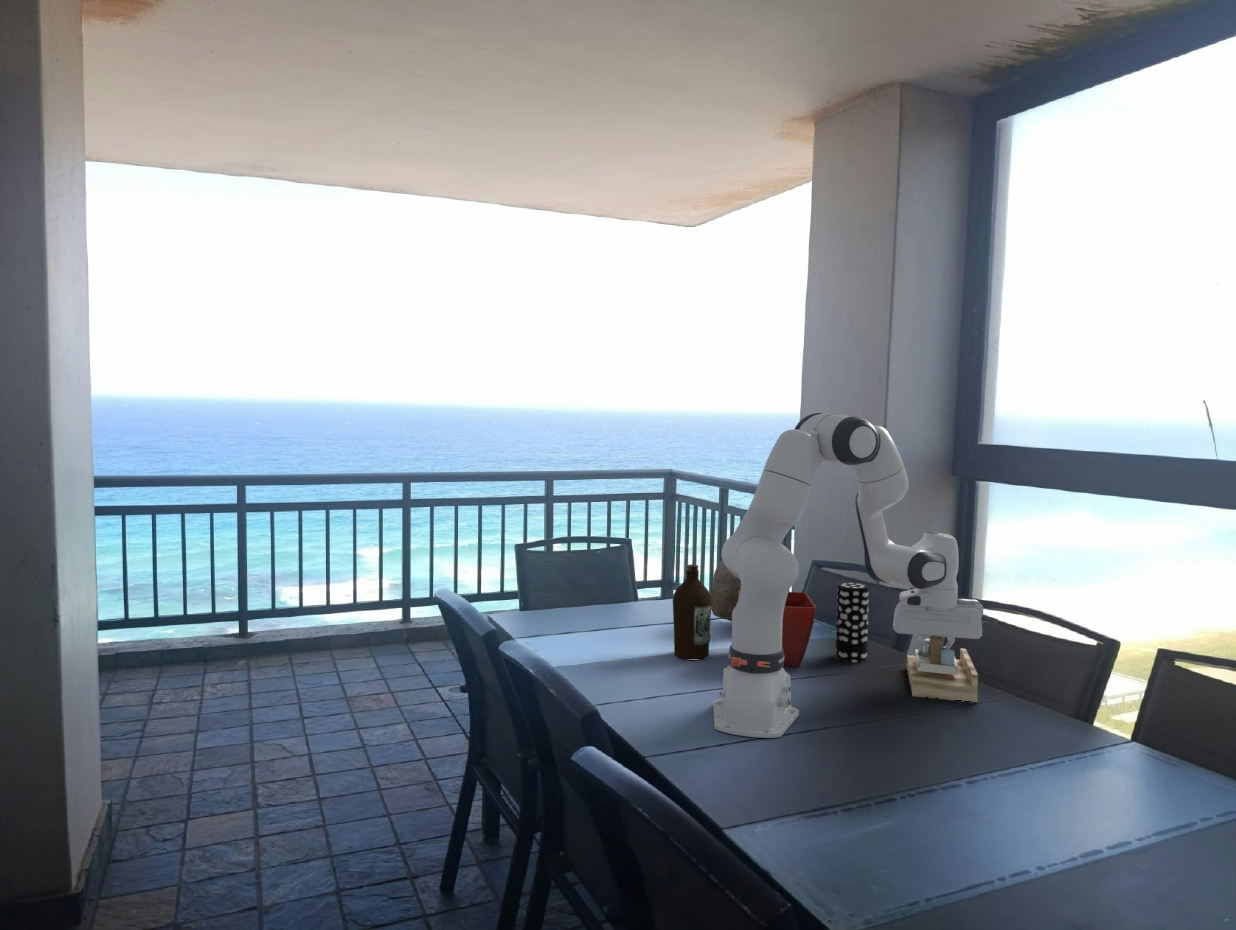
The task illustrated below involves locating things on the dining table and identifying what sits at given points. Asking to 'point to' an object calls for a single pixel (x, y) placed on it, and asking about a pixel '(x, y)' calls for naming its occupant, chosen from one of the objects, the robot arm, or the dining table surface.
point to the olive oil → (692, 617)
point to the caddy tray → (933, 667)
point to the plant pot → (796, 626)
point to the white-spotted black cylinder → (852, 622)
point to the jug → (724, 592)
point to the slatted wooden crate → (945, 681)
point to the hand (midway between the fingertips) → (936, 653)
